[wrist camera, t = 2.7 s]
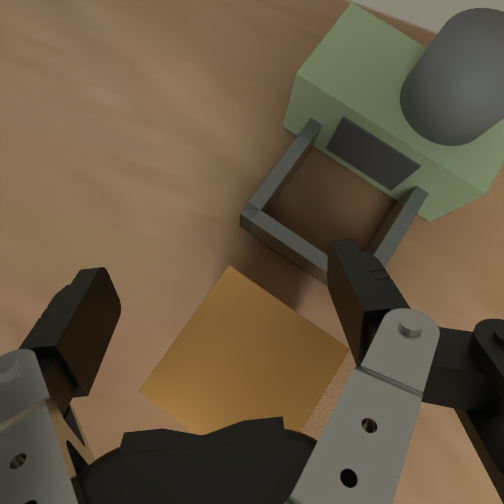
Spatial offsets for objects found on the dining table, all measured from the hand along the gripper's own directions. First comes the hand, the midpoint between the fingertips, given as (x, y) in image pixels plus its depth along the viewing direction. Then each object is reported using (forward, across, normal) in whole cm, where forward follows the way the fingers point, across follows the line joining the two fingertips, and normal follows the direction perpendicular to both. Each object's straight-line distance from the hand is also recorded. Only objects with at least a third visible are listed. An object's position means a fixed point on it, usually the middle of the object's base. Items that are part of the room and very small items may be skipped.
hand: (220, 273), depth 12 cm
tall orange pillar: (+6, 0, -11) cm, 13 cm away
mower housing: (+18, +12, -1) cm, 21 cm away
